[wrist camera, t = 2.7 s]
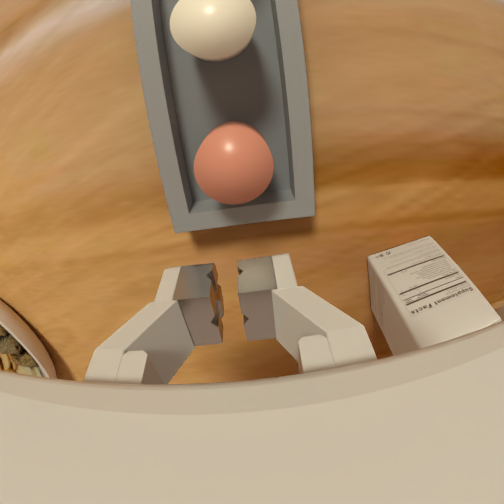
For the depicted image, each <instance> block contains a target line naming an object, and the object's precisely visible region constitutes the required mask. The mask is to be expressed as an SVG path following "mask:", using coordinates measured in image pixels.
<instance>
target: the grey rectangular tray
mask: <svg viewBox="0 0 504 504" xmlns="http://www.w3.org/2000/svg"><path fill="white" fill-rule="evenodd" d="M130 1H131V10H132V19H133V27H134V35H135V42H136V49H137V56H138V63H139V69H140V75H141V81H142V87H143V93H144V98H145V104H146V109H147V114H148V120H149V125H150V130H151V134H152V139H153V144H154V149H155V153H156V158H157V162H158V167H159V171H160V175H161V180H162V184H163V188H164V192H165V196H166V200H167V204H168V208H169V212H170V216H171V220H172V224H173V228H174V231H175V233H181V232H188V231H196V230H203V229H210V228H218V227H226V226H233V225H241V224H249V223H257V222H265V221H274V220H282V219H291V218H300V217H309V216H315V202H314V174H313V153H312V136H311V122H310V108H309V96H308V85H307V75H306V65H305V56H304V47H303V39H302V31H301V24H300V16H299V9H298V3H297V0H250V1H251V2H252V4H253V6H254V8H255V12H256V25H255V29H254V32H253V35H252V38H251V40H250V42H249V44H248V46H247V47H246V48H245V49H244V50H243V51H242V52H241V53H240V54H238V55H237V56H235V57H233V58H231V59H228V60H224V61H217V62H216V61H206V60H202V59H200V58H198V57H196V56H194V55H192V54H190V53H189V52H187V51H185V50H184V49H182V48H181V47H180V46H179V45H178V44H177V43H176V41H175V40H174V38H173V36H172V34H171V30H170V17H171V13H172V11H173V9H174V7H175V5H176V4H177V2H178V1H179V0H130ZM229 121H240V122H245V123H248V124H250V125H252V126H253V127H255V128H256V129H257V130H258V131H259V132H260V133H261V134H262V135H263V137H264V139H265V141H266V143H267V145H268V147H269V150H270V152H271V154H272V157H273V163H274V170H273V176H272V179H271V181H270V183H269V185H268V187H267V188H266V190H265V191H264V192H263V193H262V194H261V195H259V196H258V197H257V198H255V199H253V200H251V201H249V202H246V203H242V204H224V203H221V202H218V201H216V200H214V199H212V198H210V197H209V196H208V195H206V194H205V193H204V192H203V191H202V189H201V188H200V186H199V185H198V183H197V181H196V178H195V174H194V160H195V156H196V153H197V151H198V149H199V147H200V145H201V144H202V142H203V140H204V138H205V137H206V135H207V134H208V133H209V132H210V131H211V130H212V129H213V128H214V127H216V126H217V125H219V124H222V123H224V122H229Z"/></svg>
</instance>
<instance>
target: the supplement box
mask: <svg viewBox="0 0 504 504" xmlns="http://www.w3.org/2000/svg"><path fill="white" fill-rule="evenodd" d="M367 262H368V272H369V284H370V297H371V309H372V311H373V313H374V315H375V318H376V320H377V322H378V324H379V326H380V328H381V330H382V332H383V334H384V337H385V339H386V341H387V343H388V345H389V347H390V349H391V352H392V354H393V356H394V355H398V354H402V353H406V352H410V351H413V350H417V349H421V348H424V347H428V346H431V345H434V344H438V343H441V342H444V341H447V340H450V339H454V338H457V337H460V336H463V335H466V334H468V333H471V332H474V331H477V330H480V329H482V328H485V327H488V326H490V325H493V324H496V323H498V322H501V318H500V317H499V315H498V314H497V313H496V311H495V310H494V309H493V308H492V306H491V305H490V304H489V303H488V301H487V300H486V299H485V297H484V296H483V295H482V294H481V292H480V291H479V290H478V289H477V288H476V286H475V285H474V284H473V283H472V282H471V280H470V279H469V278H468V277H467V276H466V275H465V273H464V272H463V271H462V270H461V269H460V268H459V266H458V265H457V264H456V263H455V262H454V261H453V260H452V259H451V257H450V256H449V255H448V254H447V253H446V252H445V251H444V250H443V249H442V248H441V247H440V246H439V245H438V244H437V243H436V242H435V240H434V239H433V238H432V237H431V236H427V237H424V238H421V239H418V240H416V241H413V242H410V243H407V244H403V245H400V246H397V247H394V248H391V249H388V250H385V251H382V252H379V253H376V254H373V255H370V256H368V257H367Z"/></svg>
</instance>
